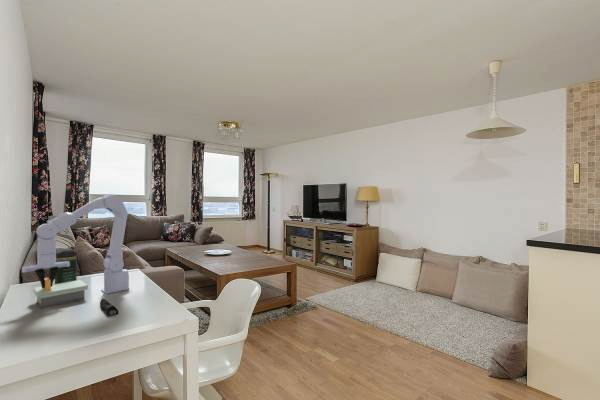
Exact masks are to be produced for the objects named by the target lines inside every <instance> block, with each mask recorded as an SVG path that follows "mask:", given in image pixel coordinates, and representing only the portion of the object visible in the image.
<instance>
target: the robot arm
mask: <svg viewBox="0 0 600 400" xmlns="http://www.w3.org/2000/svg"><path fill="white" fill-rule="evenodd" d="M99 209H100V210H101V209H106V210H108V211H109V212H111V214H112V215H113V216H114V217H113V224H112V230H111V236H110V242H109V249H108V251H107V252H106V256H105V257H104V259H103V261H102V264H103V266H104V270H103V284H104V285H103V288H100V289H101V292H103V293H104V294H105V295H108V294H112V293H116V292H121V291H127V290H130V284H129V283H130V274H129V270H128V269H126V268H124V266H125V262H124V259H123V258H124V256H123V244H124V240H125V239H124V238H125V232H126V226H127V219H128V213H129V212H128V210H127V209H126V207H125V204H124V200H123V199H122V198H120V197H119V196H118V195H116V194H104V195H102V196H101V197H98V198H95V199H93V200H91V201H89V202H88V203H86V204H84V205H82V206H81V207H79V208H77V209H76V210H73V211H72V212H68V211H67V212H61V213H59V214H58V216H56V217H55V218H53V219H51V220H49V219H48V220H47V221H46V223H42V224H41V225H40V224H39V225H38V227H37V228H36V231H35V233H36V235H37V244H36V249H37V252H36V253H37V262H36V263H37V264H33V265H28V266H22V267H21V272H22V273H28V272H29V273H30V272H34V273H35V274H36V276H37V277H38V280H39V281H40V287H41V286H42V288H45V282H44V278H45V270H48V278H49V279H50V280H51V287H52V285H53V283H54V282H55V276H56V274H57V272H58V270H59V269H58V268H59V267H69V266H70V262H69V261H66V262H56V251H57V246H56V245H57V242H56V236H57V234H58V233H60V232H62V231H64V230H66V229H67V228H70V227H71V226H73V225H75V224H76V223H77V219H79V218H82V217H83V216H85V215H87V214H89V213H91V212H93V211H94V210H99ZM123 268H124V269H123Z"/></svg>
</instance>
